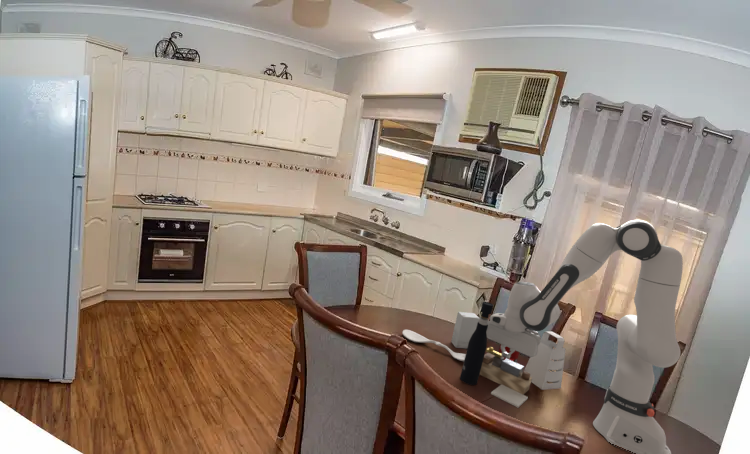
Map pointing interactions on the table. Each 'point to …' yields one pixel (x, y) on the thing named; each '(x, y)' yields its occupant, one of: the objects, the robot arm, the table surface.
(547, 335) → the grater
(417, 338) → the spoon
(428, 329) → the table surface
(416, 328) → the table surface
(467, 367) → the wine bottle
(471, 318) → the skincare box
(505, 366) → the grey metal block
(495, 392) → the felt mat
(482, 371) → the plane body
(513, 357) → the canned food
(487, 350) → the latch bar
